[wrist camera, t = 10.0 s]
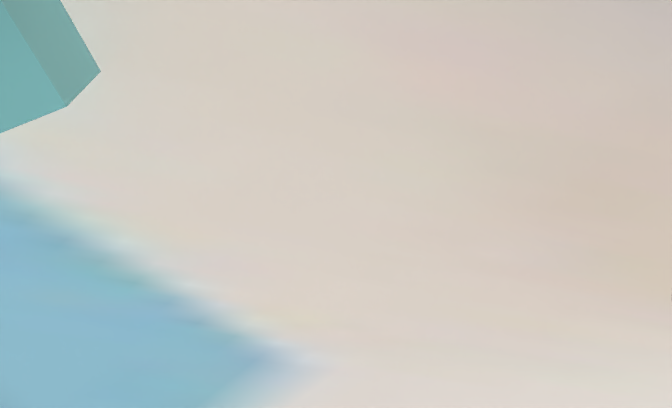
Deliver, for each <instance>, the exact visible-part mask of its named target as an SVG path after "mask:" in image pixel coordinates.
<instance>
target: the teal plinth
mask: <svg viewBox="0 0 672 408" xmlns="http://www.w3.org/2000/svg"><path fill="white" fill-rule="evenodd" d="M100 72H101V71H100V69H99V67H98V66H97V64H96V62H95V60H94V59H93V57H92V55H91V53H90V52H89V50H88V48H87V46H86V45H85V43H84V41H83V39H82V38H81V36H80V34H79V32H78V31H77V29H76V27H75V25H74V24H73V22H72V20H71V18H70V17H69V15H68V13H67V11H66V10H65V8H64V6H63V4H62V3H61V1H60V0H0V133H2V132H4V131H7V130H9V129H12V128H14V127H17V126H19V125H22V124H24V123H27V122H29V121H32V120H34V119H37V118H39V117H42V116H44V115H47V114H49V113H52V112H54V111H57V110H59V109H62V108H64V107H67V106H68V105H69V104H70V103H71V101H72V100H73V99H74V98H75V97H76V96H77V95H78V94H79V93H80V92H81V91H82V90H83V89H84V88H85V87H86V86H87V85H88V84H89V83H90V82H91V81H92V80H93V79H94V78H95V77H96V76H97V75H98V74H99V73H100Z"/></svg>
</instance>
